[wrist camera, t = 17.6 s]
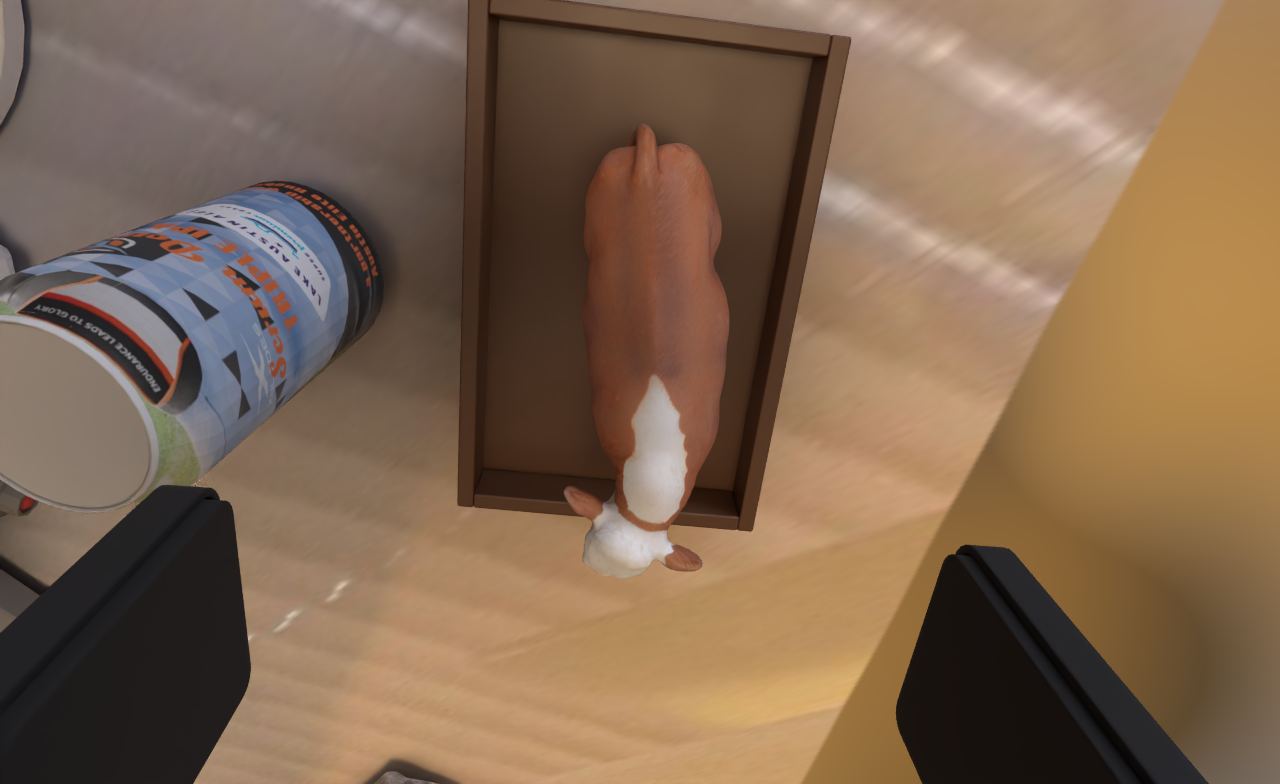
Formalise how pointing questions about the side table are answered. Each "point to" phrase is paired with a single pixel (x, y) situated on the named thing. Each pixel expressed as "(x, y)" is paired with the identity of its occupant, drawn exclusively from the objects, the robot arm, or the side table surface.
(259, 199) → the beverage can
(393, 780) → the stone
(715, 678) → the side table surface
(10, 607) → the toy gun
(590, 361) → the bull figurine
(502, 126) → the serving tray
